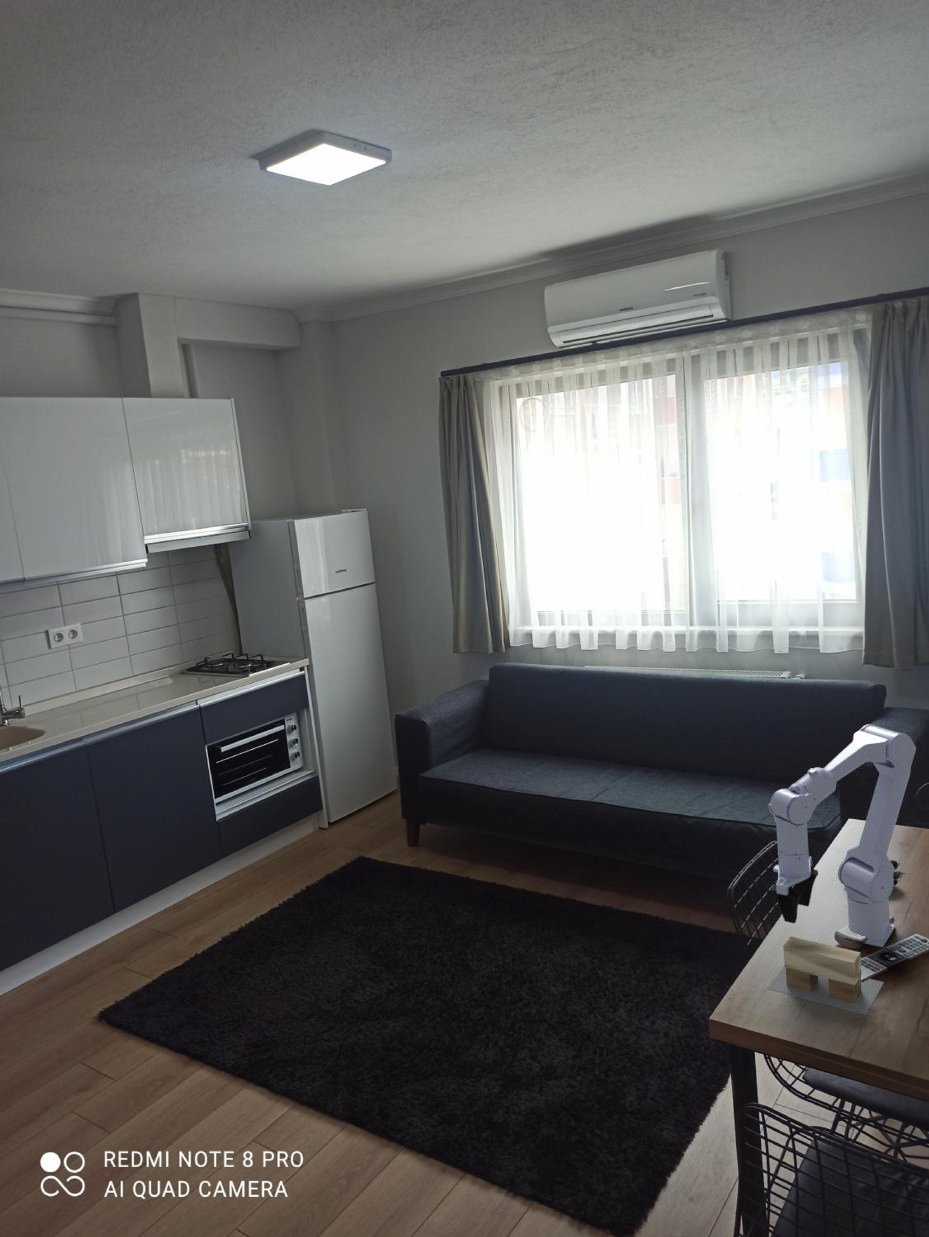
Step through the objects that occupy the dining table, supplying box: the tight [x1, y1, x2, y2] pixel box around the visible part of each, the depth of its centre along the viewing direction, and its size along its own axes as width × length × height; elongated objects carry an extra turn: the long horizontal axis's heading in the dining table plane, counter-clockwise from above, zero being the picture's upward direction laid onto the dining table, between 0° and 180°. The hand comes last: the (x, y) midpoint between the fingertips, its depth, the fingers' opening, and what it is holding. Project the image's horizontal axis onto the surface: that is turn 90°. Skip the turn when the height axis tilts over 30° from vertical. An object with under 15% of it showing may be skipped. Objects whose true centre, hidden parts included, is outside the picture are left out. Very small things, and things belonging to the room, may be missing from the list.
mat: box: [767, 965, 885, 1016], centre depth 176 cm, size 12×18×1 cm, turn 51°
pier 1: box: [786, 968, 818, 991], centre depth 177 cm, size 4×4×4 cm
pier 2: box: [828, 975, 862, 1003], centre depth 172 cm, size 4×4×4 cm
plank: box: [782, 936, 863, 985], centre depth 174 cm, size 4×13×4 cm, turn 51°
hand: (796, 913), depth 185 cm, fingers open, 7 cm apart
